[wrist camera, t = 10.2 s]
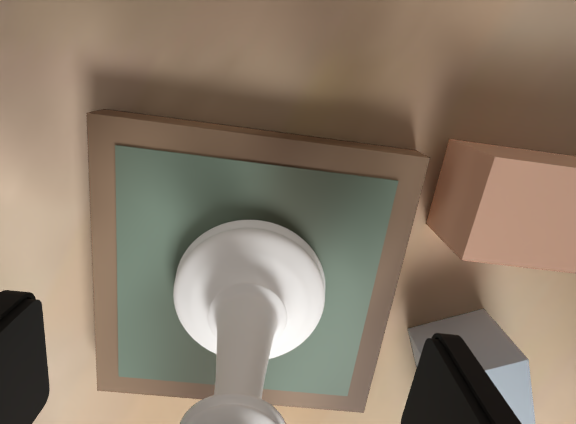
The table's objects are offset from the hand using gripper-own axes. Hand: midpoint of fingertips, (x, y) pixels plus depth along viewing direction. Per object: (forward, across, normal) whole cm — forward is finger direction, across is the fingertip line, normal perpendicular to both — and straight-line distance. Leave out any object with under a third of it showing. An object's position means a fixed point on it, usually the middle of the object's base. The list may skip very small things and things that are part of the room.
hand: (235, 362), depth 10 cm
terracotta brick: (+5, -9, -4) cm, 11 cm away
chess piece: (+4, 0, 0) cm, 4 cm away
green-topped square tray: (+5, 0, 0) cm, 5 cm away
